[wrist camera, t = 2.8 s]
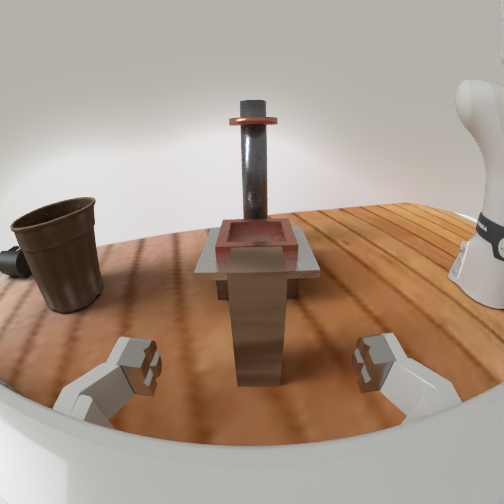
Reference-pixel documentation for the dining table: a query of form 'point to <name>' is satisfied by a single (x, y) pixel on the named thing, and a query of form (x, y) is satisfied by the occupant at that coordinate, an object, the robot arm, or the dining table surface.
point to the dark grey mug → (14, 263)
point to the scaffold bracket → (255, 214)
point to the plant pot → (62, 252)
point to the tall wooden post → (257, 313)
